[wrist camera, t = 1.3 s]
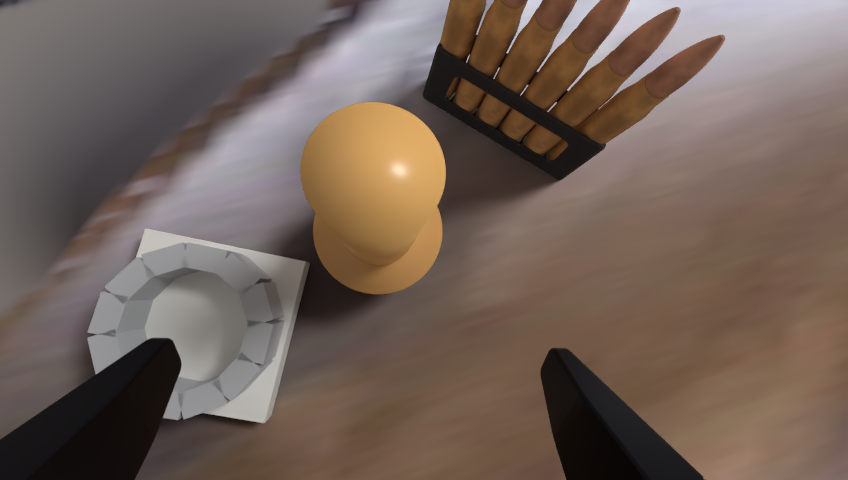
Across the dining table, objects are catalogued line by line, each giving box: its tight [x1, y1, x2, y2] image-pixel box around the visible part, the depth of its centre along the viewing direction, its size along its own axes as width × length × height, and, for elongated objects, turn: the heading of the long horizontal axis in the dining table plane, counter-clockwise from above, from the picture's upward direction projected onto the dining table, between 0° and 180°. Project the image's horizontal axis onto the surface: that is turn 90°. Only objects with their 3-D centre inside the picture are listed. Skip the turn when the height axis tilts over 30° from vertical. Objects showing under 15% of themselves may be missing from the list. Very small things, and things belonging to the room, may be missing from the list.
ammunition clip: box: [423, 0, 725, 180], centre depth 18 cm, size 11×2×12 cm, turn 60°
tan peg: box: [301, 102, 446, 294], centre depth 15 cm, size 6×6×13 cm
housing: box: [87, 228, 310, 423], centre depth 18 cm, size 9×9×3 cm
